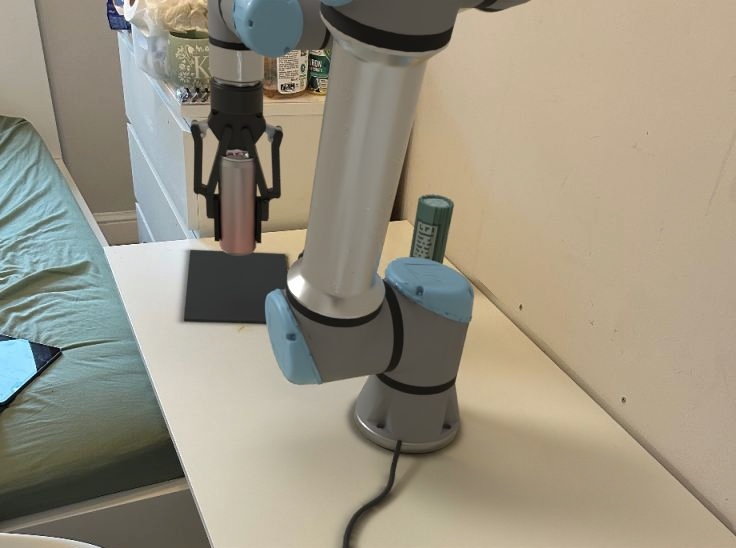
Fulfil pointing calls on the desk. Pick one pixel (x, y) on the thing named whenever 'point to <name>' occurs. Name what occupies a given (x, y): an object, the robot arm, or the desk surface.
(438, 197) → the can
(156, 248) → the desk surface
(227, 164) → the beverage can
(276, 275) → the mat
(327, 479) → the desk surface
